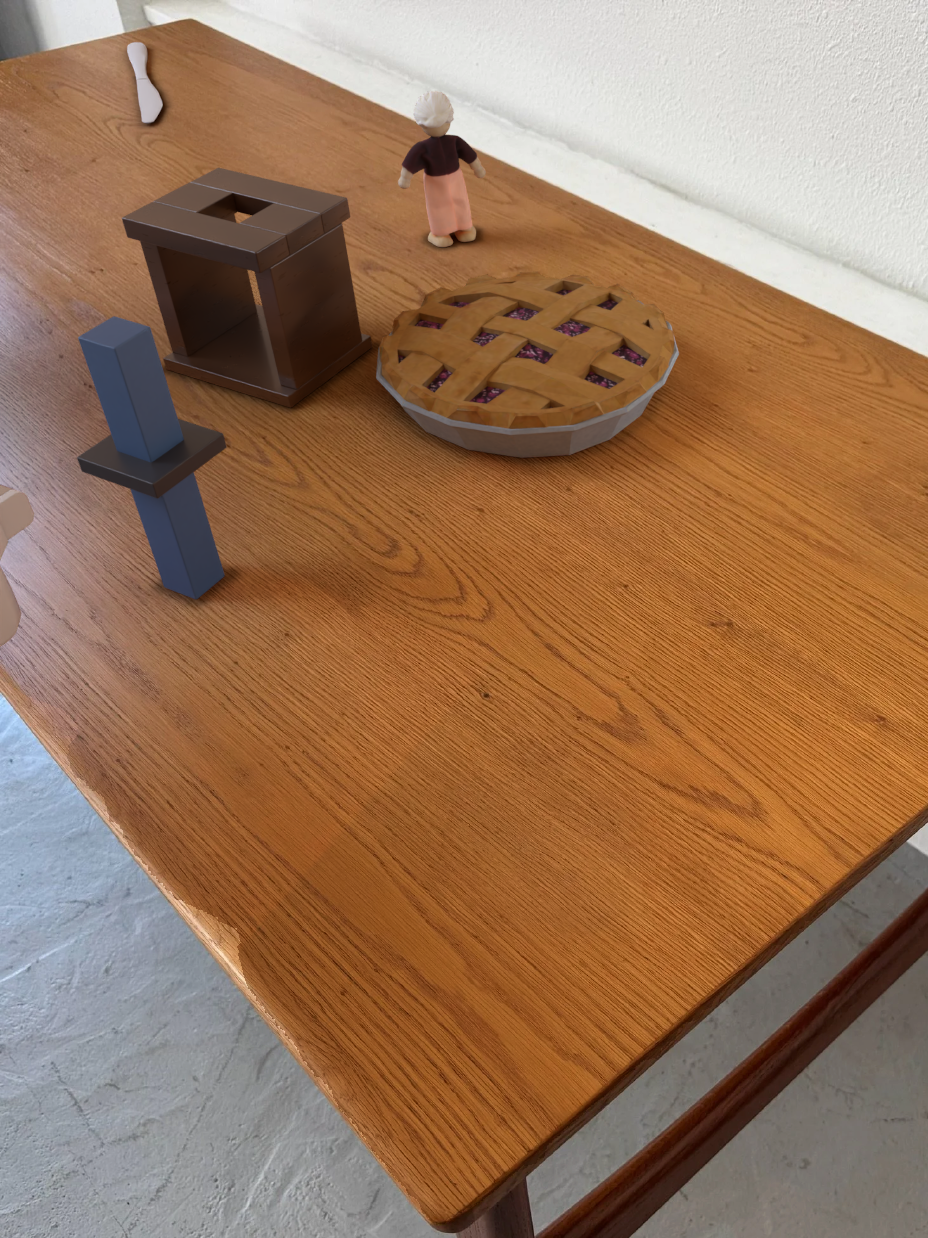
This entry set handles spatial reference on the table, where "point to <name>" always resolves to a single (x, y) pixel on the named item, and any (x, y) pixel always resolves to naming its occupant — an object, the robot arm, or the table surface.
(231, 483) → the table surface
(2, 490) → the robot arm
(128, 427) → the peg
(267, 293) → the stand
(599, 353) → the pie
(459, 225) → the grandmother figurine
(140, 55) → the butter knife
